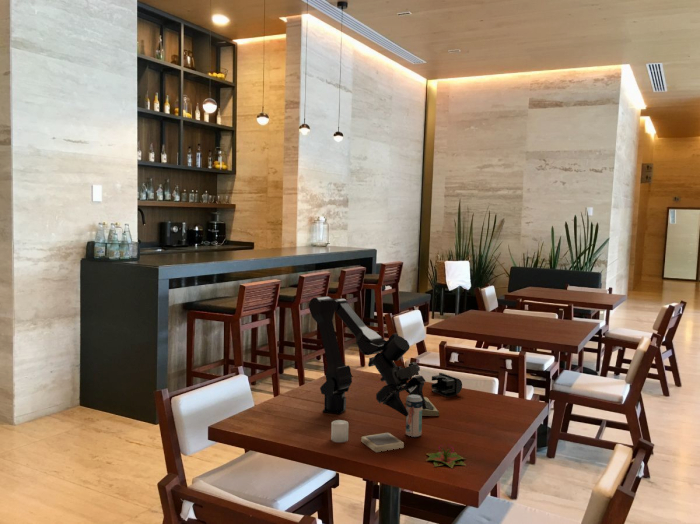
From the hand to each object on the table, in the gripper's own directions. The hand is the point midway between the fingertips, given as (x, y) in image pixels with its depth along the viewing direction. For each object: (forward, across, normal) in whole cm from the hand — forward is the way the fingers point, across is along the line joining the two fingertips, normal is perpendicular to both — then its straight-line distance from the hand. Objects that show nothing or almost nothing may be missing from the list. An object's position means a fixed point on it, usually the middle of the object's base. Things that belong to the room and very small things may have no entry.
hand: (416, 412), depth 183 cm
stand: (+3, -13, +7) cm, 15 cm away
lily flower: (+18, -10, -6) cm, 21 cm away
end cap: (-8, +46, +19) cm, 50 cm away
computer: (-4, +23, +15) cm, 28 cm away
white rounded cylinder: (-5, -18, +15) cm, 24 cm away
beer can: (+5, 0, +6) cm, 8 cm away
